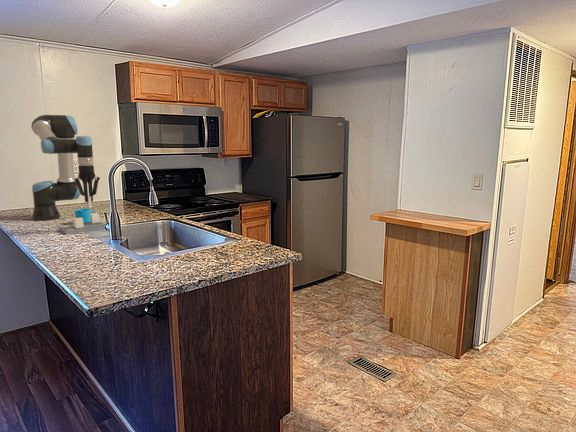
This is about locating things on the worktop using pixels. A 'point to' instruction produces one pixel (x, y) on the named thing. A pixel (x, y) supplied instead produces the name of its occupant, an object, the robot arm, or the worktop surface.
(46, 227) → the worktop surface
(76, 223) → the tab
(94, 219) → the tab
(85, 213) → the mug
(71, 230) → the switch bank
